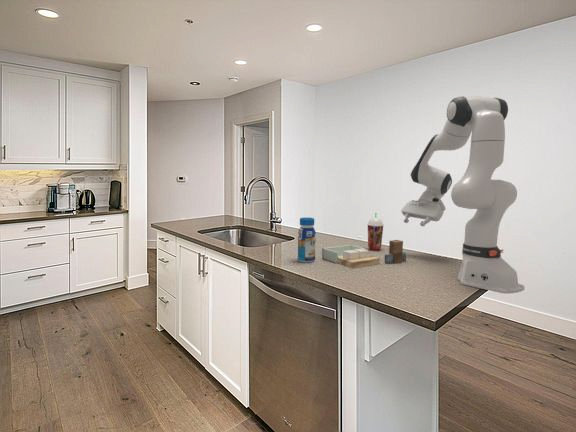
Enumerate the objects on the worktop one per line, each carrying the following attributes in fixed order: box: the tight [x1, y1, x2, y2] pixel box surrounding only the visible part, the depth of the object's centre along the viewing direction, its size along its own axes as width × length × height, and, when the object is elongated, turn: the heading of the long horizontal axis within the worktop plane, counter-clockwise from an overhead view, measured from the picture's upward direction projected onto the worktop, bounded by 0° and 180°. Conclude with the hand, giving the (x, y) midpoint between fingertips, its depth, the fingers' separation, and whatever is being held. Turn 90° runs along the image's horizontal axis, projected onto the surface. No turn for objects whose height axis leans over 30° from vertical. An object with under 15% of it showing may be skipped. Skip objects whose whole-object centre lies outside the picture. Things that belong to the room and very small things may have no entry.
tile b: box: [343, 250, 359, 260], centre depth 167 cm, size 5×5×3 cm
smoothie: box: [367, 212, 384, 252], centre depth 196 cm, size 8×8×20 cm
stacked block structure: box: [384, 239, 407, 265], centre depth 170 cm, size 4×12×10 cm, turn 121°
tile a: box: [354, 248, 370, 258], centre depth 170 cm, size 5×5×3 cm
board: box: [337, 255, 381, 269], centre depth 167 cm, size 10×16×2 cm, turn 121°
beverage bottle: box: [297, 217, 317, 263], centre depth 170 cm, size 8×8×20 cm
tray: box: [321, 244, 367, 264], centre depth 175 cm, size 11×18×5 cm, turn 121°
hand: (413, 223), depth 175 cm, fingers open, 8 cm apart
